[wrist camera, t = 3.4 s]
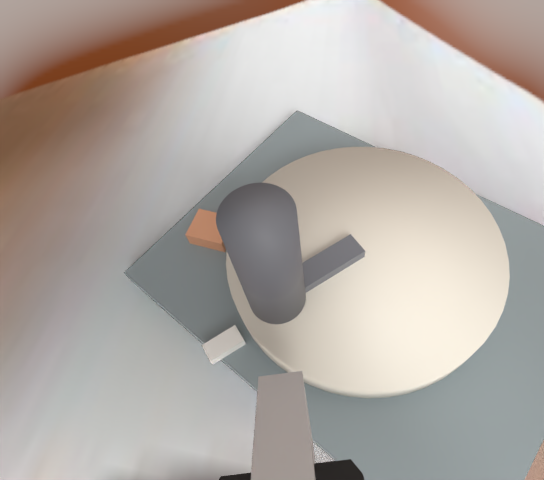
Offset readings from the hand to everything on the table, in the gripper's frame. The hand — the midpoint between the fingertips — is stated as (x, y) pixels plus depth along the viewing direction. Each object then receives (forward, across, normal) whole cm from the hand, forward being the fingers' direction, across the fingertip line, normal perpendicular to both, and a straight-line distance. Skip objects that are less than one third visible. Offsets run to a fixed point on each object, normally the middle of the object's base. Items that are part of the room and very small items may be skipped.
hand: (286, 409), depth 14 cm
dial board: (+11, +4, 0) cm, 11 cm away
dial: (+9, +4, +2) cm, 10 cm away
